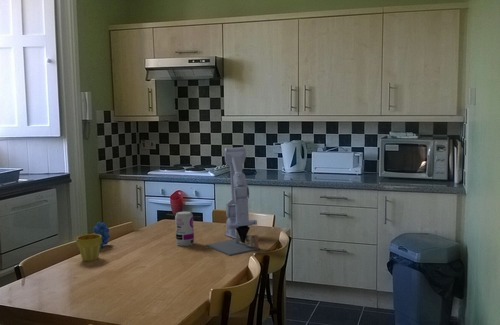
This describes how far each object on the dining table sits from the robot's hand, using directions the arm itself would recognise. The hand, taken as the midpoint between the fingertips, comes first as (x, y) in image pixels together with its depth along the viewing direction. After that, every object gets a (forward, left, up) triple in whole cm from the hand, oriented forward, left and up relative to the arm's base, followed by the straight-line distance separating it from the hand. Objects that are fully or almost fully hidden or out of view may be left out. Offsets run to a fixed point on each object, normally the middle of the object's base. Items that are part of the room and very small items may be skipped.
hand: (243, 242), depth 234 cm
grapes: (-44, -49, -3) cm, 66 cm away
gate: (0, +2, -1) cm, 2 cm away
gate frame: (-3, -3, -2) cm, 6 cm away
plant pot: (-28, -60, -3) cm, 67 cm away
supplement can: (-23, -17, -3) cm, 29 cm away
